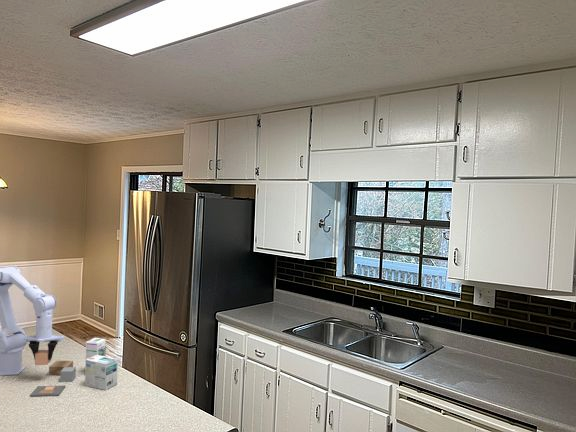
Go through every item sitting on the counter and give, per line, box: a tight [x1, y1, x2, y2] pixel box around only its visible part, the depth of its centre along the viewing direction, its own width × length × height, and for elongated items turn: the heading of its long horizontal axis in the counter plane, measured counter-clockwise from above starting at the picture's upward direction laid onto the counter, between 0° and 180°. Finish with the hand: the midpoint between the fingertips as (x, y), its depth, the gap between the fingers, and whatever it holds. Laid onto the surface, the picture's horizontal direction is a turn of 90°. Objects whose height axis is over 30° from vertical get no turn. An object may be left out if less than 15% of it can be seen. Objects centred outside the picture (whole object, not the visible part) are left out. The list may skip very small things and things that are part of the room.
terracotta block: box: [34, 349, 52, 366], centre depth 179 cm, size 4×4×4 cm
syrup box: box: [85, 337, 107, 360], centre depth 188 cm, size 6×6×14 cm
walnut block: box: [48, 360, 74, 377], centre depth 187 cm, size 7×7×4 cm
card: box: [29, 385, 66, 398], centre depth 169 cm, size 10×8×1 cm
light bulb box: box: [84, 355, 119, 391], centre depth 177 cm, size 11×7×11 cm, turn 71°
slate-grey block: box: [59, 366, 77, 383], centre depth 180 cm, size 4×4×4 cm
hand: (43, 359), depth 179 cm, fingers closed on terracotta block, 4 cm apart
